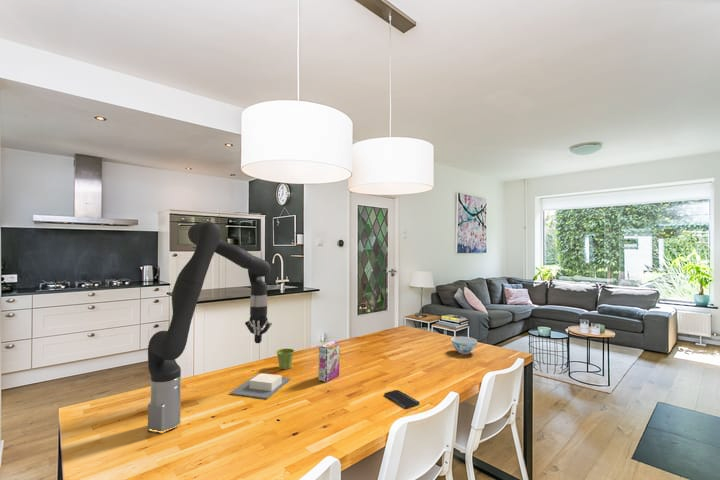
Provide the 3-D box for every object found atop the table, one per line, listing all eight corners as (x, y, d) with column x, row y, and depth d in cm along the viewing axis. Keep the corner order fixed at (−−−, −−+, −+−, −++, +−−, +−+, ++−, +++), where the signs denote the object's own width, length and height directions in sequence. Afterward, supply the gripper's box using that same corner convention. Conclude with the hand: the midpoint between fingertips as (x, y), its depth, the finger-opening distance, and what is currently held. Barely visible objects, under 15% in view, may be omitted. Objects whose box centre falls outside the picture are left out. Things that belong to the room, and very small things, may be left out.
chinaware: (450, 355, 204) (450, 341, 204) (451, 347, 218) (451, 335, 219) (477, 357, 200) (477, 344, 200) (476, 350, 214) (476, 337, 214)
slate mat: (266, 399, 144) (266, 397, 144) (229, 394, 149) (229, 392, 149) (290, 379, 166) (290, 378, 166) (257, 375, 170) (257, 374, 170)
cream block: (249, 388, 154) (271, 391, 151) (249, 380, 154) (271, 383, 151) (260, 380, 163) (281, 383, 160) (260, 373, 163) (281, 375, 160)
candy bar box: (326, 383, 162) (326, 347, 162) (318, 380, 164) (318, 346, 165) (340, 375, 171) (340, 342, 172) (331, 373, 174) (332, 340, 174)
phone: (397, 389, 153) (420, 402, 141) (397, 392, 153) (420, 405, 141) (382, 393, 149) (405, 407, 136) (382, 396, 149) (405, 410, 136)
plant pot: (296, 369, 179) (296, 352, 179) (277, 371, 176) (277, 354, 176) (292, 363, 188) (292, 347, 188) (274, 365, 184) (275, 349, 185)
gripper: (241, 305, 157) (240, 343, 156) (267, 306, 153) (266, 346, 153) (250, 302, 164) (249, 339, 164) (275, 304, 161) (275, 342, 160)
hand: (258, 342), depth 158 cm, fingers closed
